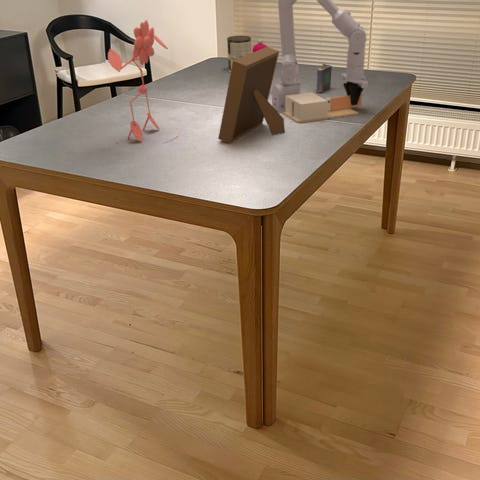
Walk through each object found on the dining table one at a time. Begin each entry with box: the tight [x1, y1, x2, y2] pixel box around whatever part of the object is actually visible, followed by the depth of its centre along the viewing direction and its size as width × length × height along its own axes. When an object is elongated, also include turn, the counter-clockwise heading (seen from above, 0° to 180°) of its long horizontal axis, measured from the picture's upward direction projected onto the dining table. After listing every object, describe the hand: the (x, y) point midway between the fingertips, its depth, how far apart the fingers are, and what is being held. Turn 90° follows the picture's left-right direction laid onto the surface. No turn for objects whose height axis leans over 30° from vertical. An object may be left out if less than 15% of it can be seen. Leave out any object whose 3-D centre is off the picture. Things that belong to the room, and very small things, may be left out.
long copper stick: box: [324, 93, 363, 111], centre depth 212 cm, size 20×1×4 cm, turn 111°
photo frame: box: [218, 46, 286, 144], centre depth 188 cm, size 15×22×25 cm
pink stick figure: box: [107, 20, 179, 145], centre depth 186 cm, size 15×26×35 cm, turn 156°
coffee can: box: [226, 35, 252, 73], centre depth 268 cm, size 10×10×14 cm
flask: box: [316, 62, 333, 94], centre depth 237 cm, size 9×3×11 cm, turn 146°
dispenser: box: [282, 91, 359, 124], centre depth 211 cm, size 23×12×6 cm, turn 111°
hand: (352, 104), depth 215 cm, fingers closed on long copper stick
